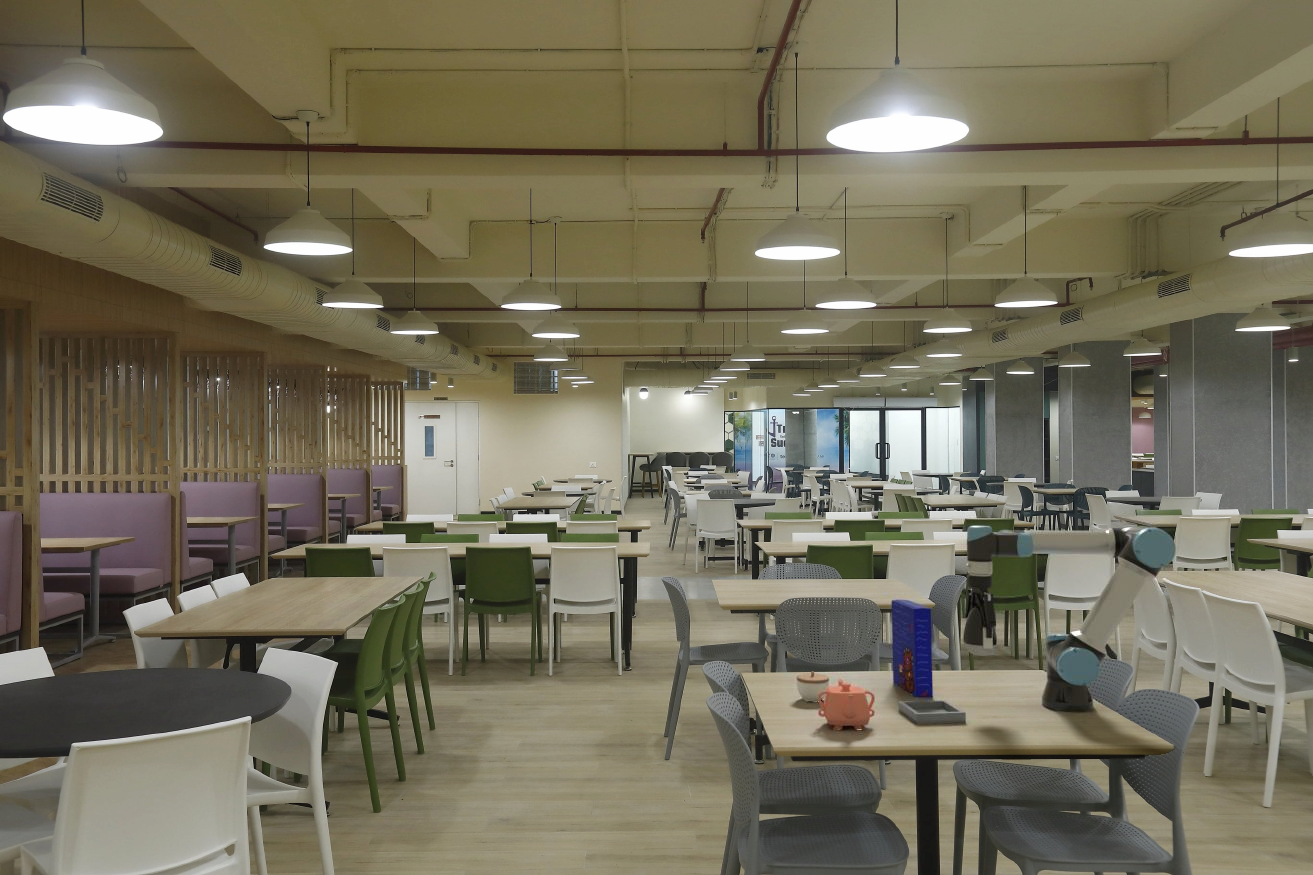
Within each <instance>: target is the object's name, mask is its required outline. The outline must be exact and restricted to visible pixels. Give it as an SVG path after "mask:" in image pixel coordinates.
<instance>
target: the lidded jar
mask: <svg viewBox="0 0 1313 875" xmlns="http://www.w3.org/2000/svg"><path fill="white" fill-rule="evenodd" d="M829 681H830V678H829V676H828V675H826V674H824V673H823V674H821V673H815V671H811V672H809V673H801V674H798V675H797V676H796V684H797V685H796V686H797V691H798V694H799V695H800V696H801V697H802V699H803V701H805V700H806V701H805V702H807V701H813V702H812V703H816V702H815V701H818V694H819V693H820V692H821V691H824V690H827V687H830V685H829ZM825 695H826V694H822V695H821V700H822V701H823V699H825Z"/></svg>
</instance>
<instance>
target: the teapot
mask: <svg viewBox="0 0 1313 875" xmlns="http://www.w3.org/2000/svg"><path fill="white" fill-rule="evenodd" d="M837 682H838V685H837V686H835V685H834V686H832V685H831V686H830V685H829V687H827V690H824V691H821V692H820V693H819V694H818V701H819V702H818V704H819V706H820V709H818V712H817V713H818V716H820V717H822V718H823V717H824V718H825V720H826V721H827V723H828V724H829V725H831V726H834V727H833V730H835V729H842V730H843V727H845V726H847V727H848V726H849V727H854V728H853V729H854V730H855V729H863V730H864V728H863V726H868V725H869V722H870V719H871V718H872V717H874V716H875V713H876V712H875V710H874V709H873V708H872V707H873V705H874V703H875V699H876V698H875V695H874V693H873V692H872V691H870V690H868V689H867V690H864V689H863V688H862V687H861V686H857V685H856V686H855V685H854V686H853V685H852V684H851V683H848V682H844V680H843V679H840V678H839V679H837ZM851 685H852V686H851ZM822 694H826V695H825V697H824V701H823V700H822V701H823V702H822V701H821V695H822ZM866 694H868V695H870V697H871V698H870V702H868V698H867V695H866ZM822 712H823V713H822ZM870 712H871V713H870Z"/></svg>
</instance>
